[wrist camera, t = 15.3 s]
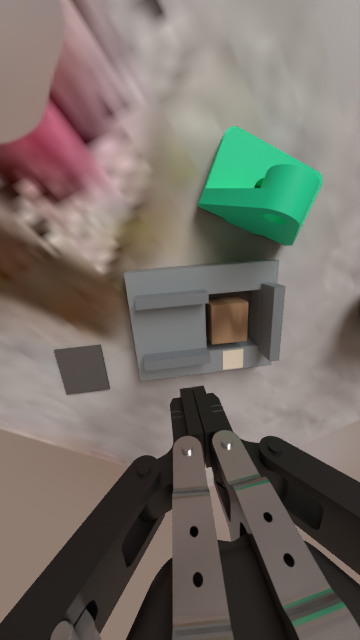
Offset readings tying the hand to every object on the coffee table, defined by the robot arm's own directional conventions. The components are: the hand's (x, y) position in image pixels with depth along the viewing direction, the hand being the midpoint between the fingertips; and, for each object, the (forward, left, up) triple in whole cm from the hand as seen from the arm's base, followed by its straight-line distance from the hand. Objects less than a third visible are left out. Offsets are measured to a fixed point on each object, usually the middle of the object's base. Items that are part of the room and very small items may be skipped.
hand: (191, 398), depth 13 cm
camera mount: (-14, +11, -17) cm, 25 cm away
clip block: (0, +7, -15) cm, 16 cm away
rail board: (0, +4, -17) cm, 17 cm away
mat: (+6, -13, -17) cm, 22 cm away
